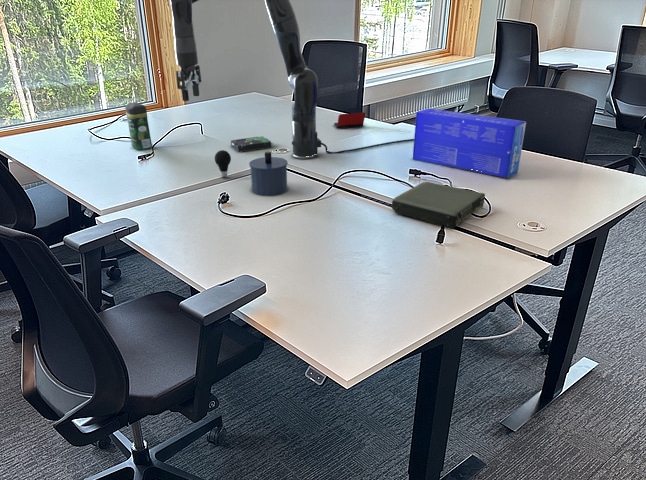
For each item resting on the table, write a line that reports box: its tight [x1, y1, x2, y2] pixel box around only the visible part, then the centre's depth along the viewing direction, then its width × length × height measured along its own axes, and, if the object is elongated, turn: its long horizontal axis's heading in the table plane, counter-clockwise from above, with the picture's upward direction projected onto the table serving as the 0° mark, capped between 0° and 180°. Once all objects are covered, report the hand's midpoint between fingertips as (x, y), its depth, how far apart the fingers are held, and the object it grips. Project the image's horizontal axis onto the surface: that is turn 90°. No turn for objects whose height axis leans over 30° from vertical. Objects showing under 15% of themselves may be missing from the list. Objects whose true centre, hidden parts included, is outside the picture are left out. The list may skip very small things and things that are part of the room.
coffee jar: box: [125, 101, 153, 151], centre depth 247 cm, size 10×8×19 cm
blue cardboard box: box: [412, 107, 527, 179], centre depth 212 cm, size 39×8×18 cm, turn 47°
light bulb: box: [214, 149, 232, 179], centre depth 211 cm, size 6×6×10 cm
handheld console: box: [333, 112, 366, 130], centre depth 269 cm, size 12×11×7 cm
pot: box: [250, 164, 288, 197], centre depth 199 cm, size 12×12×9 cm
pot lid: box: [248, 151, 289, 170], centre depth 196 cm, size 13×13×5 cm
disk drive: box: [230, 136, 272, 153], centre depth 246 cm, size 10×3×15 cm
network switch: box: [391, 181, 486, 230], centre depth 178 cm, size 23×24×5 cm
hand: (191, 98), depth 212 cm, fingers open, 8 cm apart
